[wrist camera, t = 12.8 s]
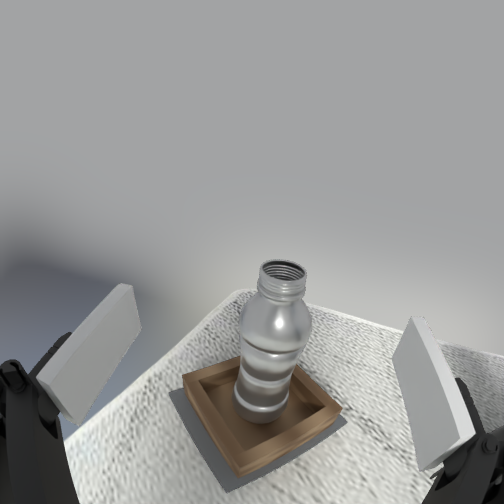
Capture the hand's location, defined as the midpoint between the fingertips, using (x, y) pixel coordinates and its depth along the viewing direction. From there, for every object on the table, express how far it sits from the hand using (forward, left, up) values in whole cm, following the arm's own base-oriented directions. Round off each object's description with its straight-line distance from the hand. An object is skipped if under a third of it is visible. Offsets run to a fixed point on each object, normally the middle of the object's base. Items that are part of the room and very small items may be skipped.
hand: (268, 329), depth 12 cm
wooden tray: (-7, -7, -23) cm, 25 cm away
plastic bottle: (-7, -7, -22) cm, 24 cm away
